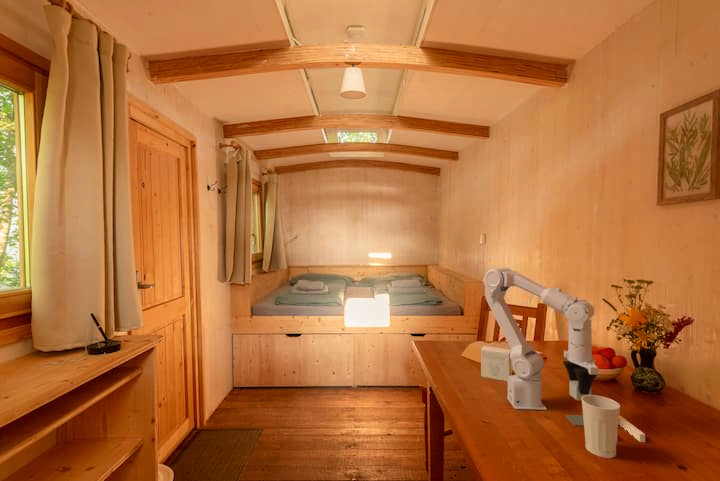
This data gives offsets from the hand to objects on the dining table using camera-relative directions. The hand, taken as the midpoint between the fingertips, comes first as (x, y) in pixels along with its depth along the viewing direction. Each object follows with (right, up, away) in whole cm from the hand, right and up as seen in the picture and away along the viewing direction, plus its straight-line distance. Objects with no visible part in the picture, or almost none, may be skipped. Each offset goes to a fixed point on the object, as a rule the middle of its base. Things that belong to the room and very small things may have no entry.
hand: (579, 390), depth 104 cm
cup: (-4, -9, -14) cm, 17 cm away
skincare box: (-11, -9, +34) cm, 37 cm away
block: (0, -2, 0) cm, 2 cm away
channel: (+7, -9, -4) cm, 12 cm away
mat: (0, -9, 0) cm, 9 cm away
